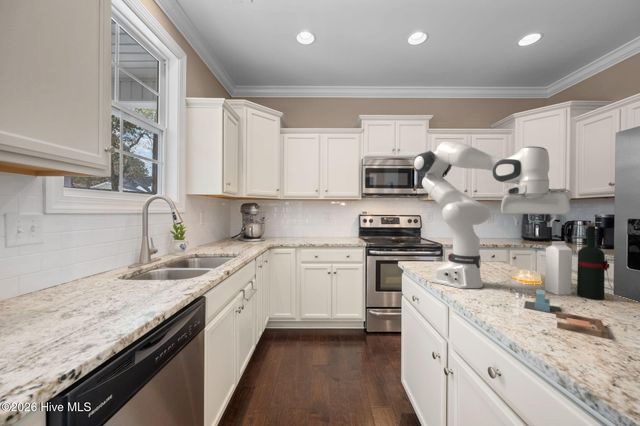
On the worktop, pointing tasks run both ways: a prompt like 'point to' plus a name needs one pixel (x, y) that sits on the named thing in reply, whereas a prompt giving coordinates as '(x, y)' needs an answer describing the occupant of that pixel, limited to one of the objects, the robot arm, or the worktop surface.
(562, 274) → the milk
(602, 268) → the wine bottle
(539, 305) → the pusher
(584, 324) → the tile
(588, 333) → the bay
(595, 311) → the worktop surface
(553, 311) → the mat
